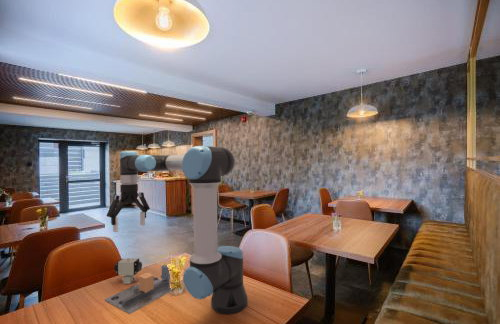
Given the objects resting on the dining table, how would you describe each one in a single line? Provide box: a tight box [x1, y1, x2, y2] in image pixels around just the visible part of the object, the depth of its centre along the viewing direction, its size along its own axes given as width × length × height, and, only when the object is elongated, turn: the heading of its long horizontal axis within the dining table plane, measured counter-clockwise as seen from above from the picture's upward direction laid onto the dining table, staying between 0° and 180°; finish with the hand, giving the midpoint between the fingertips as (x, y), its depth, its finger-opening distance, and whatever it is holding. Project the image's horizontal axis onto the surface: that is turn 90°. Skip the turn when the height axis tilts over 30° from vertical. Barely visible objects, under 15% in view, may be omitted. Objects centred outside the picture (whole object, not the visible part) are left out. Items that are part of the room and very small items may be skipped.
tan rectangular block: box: [138, 272, 155, 293], centre depth 109 cm, size 6×4×8 cm, turn 58°
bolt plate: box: [104, 276, 172, 315], centre depth 111 cm, size 18×24×1 cm
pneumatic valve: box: [113, 257, 143, 285], centre depth 122 cm, size 6×12×12 cm, turn 89°
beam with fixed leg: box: [122, 264, 171, 307], centre depth 110 cm, size 6×22×8 cm, turn 148°
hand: (129, 228), depth 117 cm, fingers open, 13 cm apart
